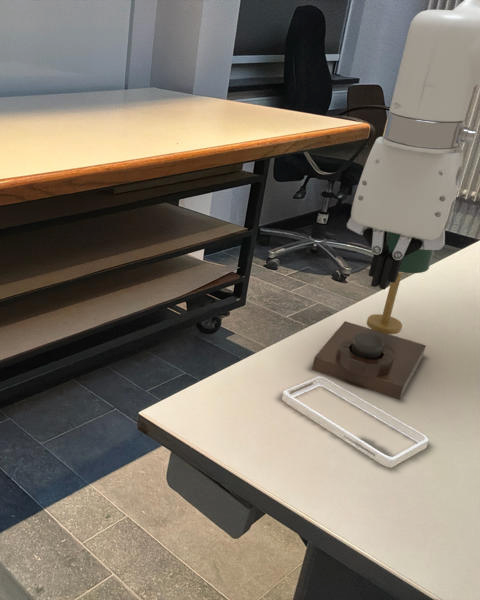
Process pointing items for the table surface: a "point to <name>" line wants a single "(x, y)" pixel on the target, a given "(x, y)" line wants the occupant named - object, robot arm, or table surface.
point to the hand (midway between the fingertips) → (380, 284)
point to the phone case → (365, 407)
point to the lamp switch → (367, 346)
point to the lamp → (410, 264)
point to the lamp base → (370, 361)
